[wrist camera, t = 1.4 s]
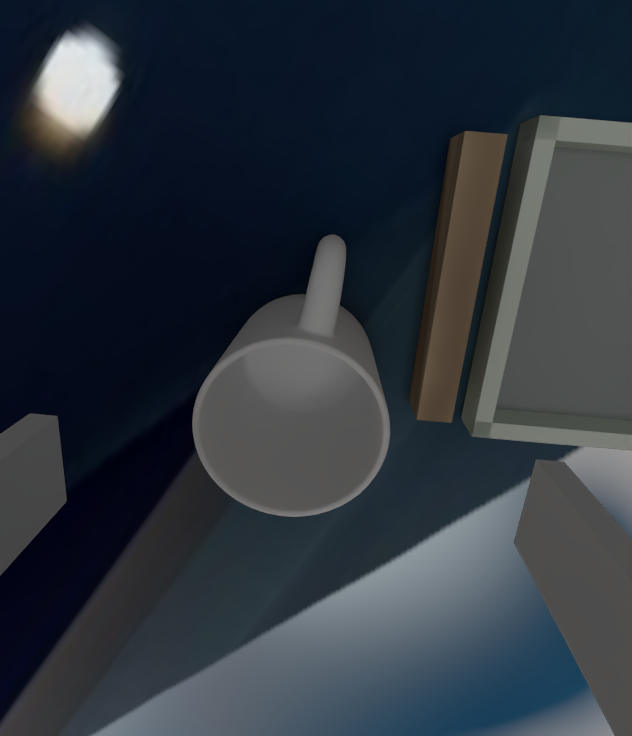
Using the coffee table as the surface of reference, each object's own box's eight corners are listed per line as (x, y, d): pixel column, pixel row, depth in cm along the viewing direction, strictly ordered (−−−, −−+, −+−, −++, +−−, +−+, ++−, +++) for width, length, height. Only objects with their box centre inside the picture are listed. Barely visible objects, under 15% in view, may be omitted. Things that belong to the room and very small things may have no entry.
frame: (461, 418, 30) (472, 436, 28) (520, 123, 25) (540, 115, 22) (664, 436, 30) (691, 455, 28) (769, 144, 25) (815, 138, 22)
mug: (265, 210, 27) (227, 216, 17) (407, 247, 27) (448, 274, 17) (226, 400, 31) (177, 493, 21) (350, 430, 31) (359, 535, 21)
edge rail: (408, 399, 30) (416, 419, 27) (450, 138, 25) (464, 130, 22) (440, 402, 30) (451, 422, 27) (487, 141, 25) (507, 134, 22)
